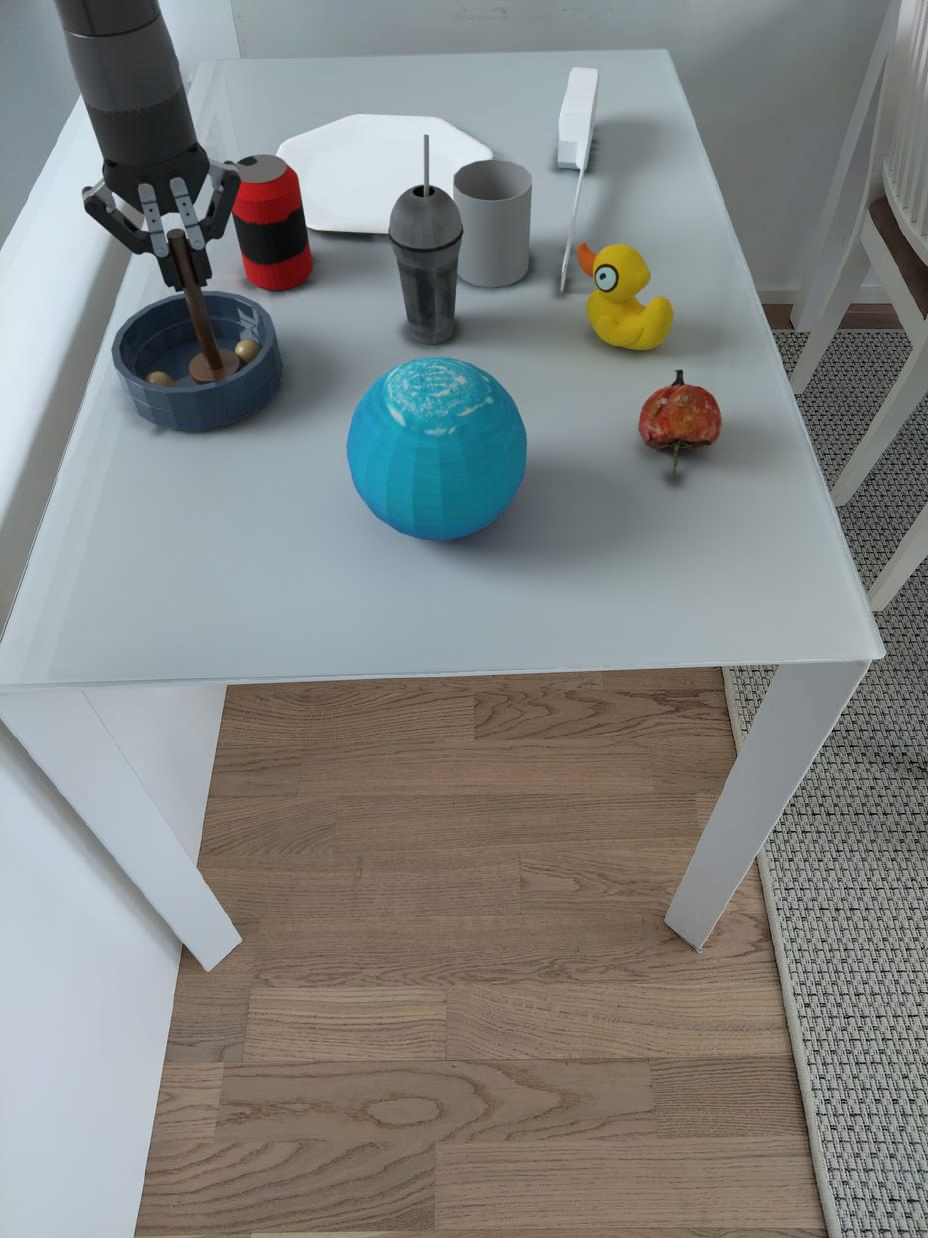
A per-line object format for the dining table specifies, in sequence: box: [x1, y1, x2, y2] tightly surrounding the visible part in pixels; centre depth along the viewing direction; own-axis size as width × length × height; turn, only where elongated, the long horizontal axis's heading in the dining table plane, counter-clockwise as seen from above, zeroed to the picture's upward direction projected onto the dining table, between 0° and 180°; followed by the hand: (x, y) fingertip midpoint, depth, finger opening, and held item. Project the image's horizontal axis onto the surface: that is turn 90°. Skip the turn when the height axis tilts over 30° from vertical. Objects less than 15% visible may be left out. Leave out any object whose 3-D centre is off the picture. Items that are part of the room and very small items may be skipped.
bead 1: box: [145, 372, 174, 387], centre depth 90 cm, size 3×3×3 cm
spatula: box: [557, 66, 600, 293], centre depth 110 cm, size 38×8×4 cm
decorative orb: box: [346, 356, 528, 541], centre depth 76 cm, size 15×15×15 cm
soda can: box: [231, 154, 314, 292], centre depth 99 cm, size 8×8×12 cm
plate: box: [275, 113, 494, 237], centre depth 115 cm, size 28×28×2 cm
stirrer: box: [165, 227, 241, 385], centre depth 85 cm, size 5×5×15 cm
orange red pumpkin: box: [637, 368, 723, 481], centre depth 84 cm, size 7×7×10 cm
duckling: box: [576, 241, 674, 351], centre depth 92 cm, size 11×5×10 cm, turn 51°
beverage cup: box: [388, 135, 464, 345], centre depth 90 cm, size 7×7×20 cm
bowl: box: [110, 290, 284, 431], centre depth 91 cm, size 16×16×5 cm
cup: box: [453, 158, 533, 289], centre depth 100 cm, size 8×8×10 cm
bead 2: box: [235, 339, 262, 367], centre depth 93 cm, size 3×3×3 cm
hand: (190, 283), depth 83 cm, fingers closed on stirrer
